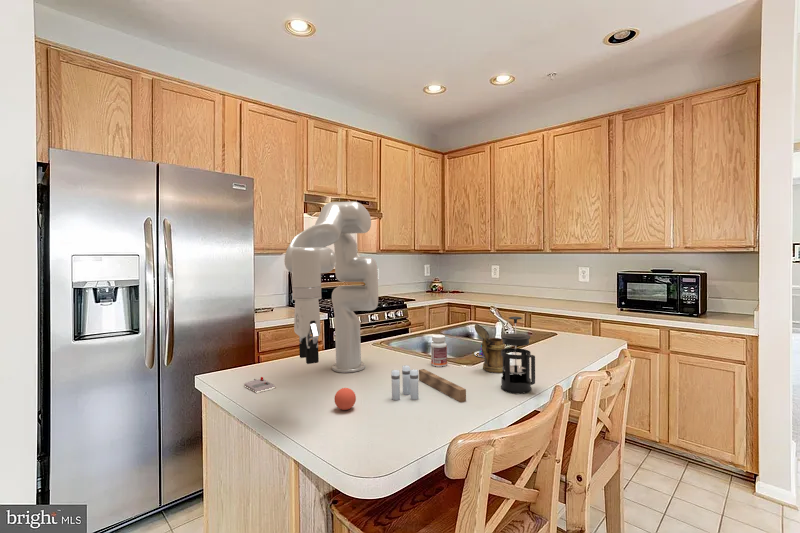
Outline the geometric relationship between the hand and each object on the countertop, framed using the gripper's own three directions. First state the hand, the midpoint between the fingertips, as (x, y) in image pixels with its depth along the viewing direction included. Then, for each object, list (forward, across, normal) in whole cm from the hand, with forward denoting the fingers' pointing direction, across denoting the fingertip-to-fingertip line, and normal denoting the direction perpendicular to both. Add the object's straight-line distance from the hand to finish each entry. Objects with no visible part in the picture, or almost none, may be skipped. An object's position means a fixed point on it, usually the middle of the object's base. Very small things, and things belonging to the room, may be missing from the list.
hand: (308, 359), depth 109 cm
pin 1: (+16, -2, +31) cm, 35 cm away
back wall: (+16, 0, +42) cm, 45 cm away
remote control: (+16, -34, -9) cm, 38 cm away
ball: (+13, 0, +10) cm, 16 cm away
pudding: (+16, -26, +83) cm, 88 cm away
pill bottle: (+16, -24, +57) cm, 64 cm away
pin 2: (+16, +2, +31) cm, 35 cm away
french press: (+16, +12, +63) cm, 66 cm away
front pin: (+16, 0, +26) cm, 30 cm away
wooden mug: (+16, -8, +69) cm, 71 cm away
